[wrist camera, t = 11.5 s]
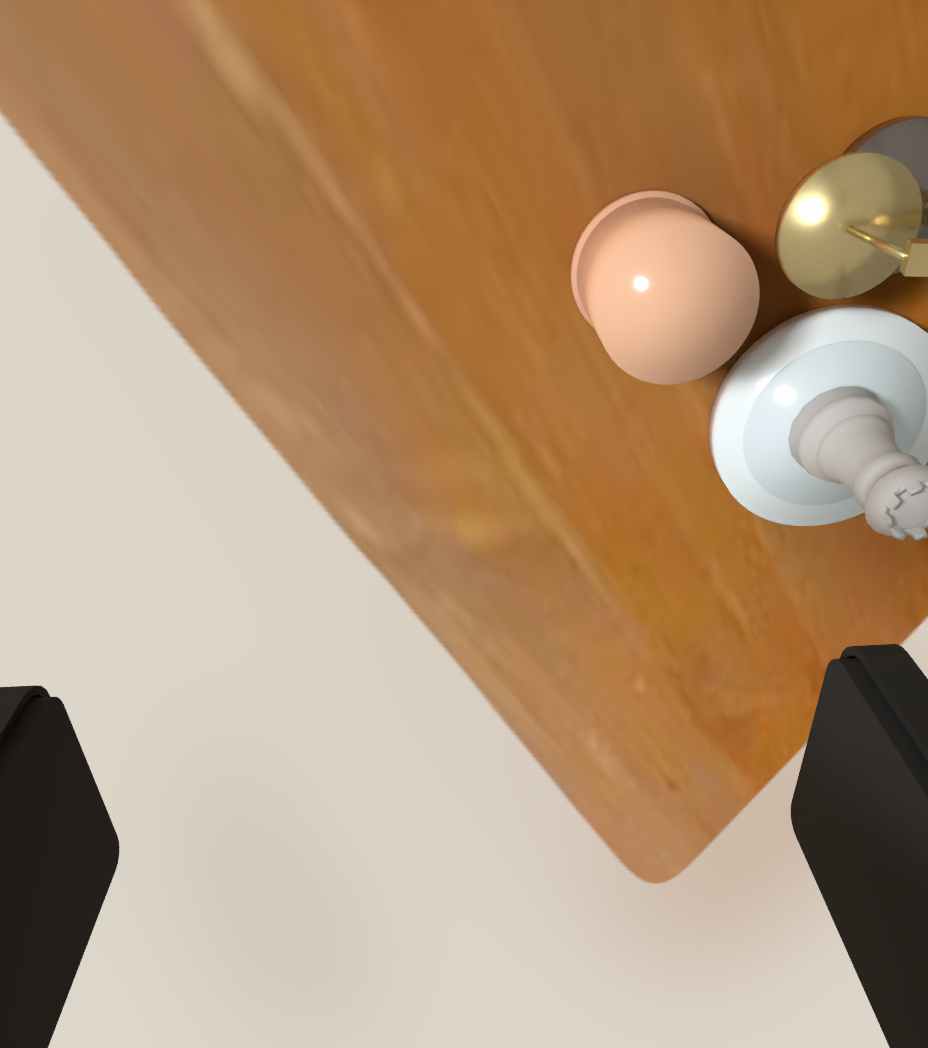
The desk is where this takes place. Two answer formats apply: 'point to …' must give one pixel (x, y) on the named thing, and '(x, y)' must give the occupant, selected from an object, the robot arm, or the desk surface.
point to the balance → (860, 214)
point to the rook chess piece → (863, 459)
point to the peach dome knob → (663, 287)
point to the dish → (795, 379)
